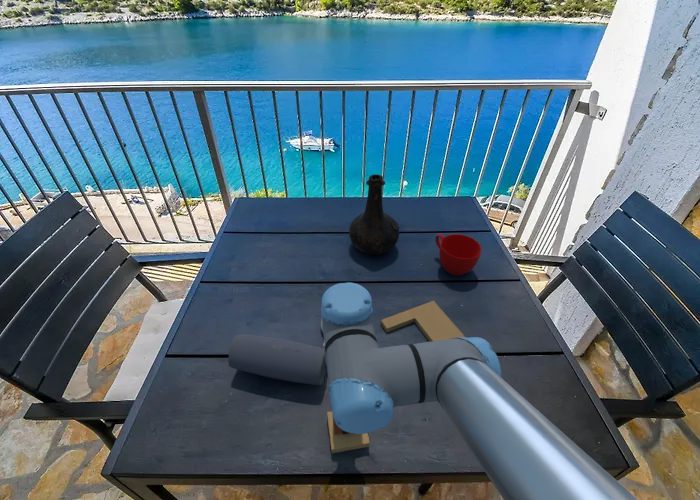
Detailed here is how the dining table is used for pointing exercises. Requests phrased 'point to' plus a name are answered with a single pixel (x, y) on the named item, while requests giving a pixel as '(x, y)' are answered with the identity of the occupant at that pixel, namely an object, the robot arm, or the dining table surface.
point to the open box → (345, 438)
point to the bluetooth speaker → (278, 358)
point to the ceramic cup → (458, 253)
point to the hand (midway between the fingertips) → (347, 424)
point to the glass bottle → (374, 223)
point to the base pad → (425, 322)
